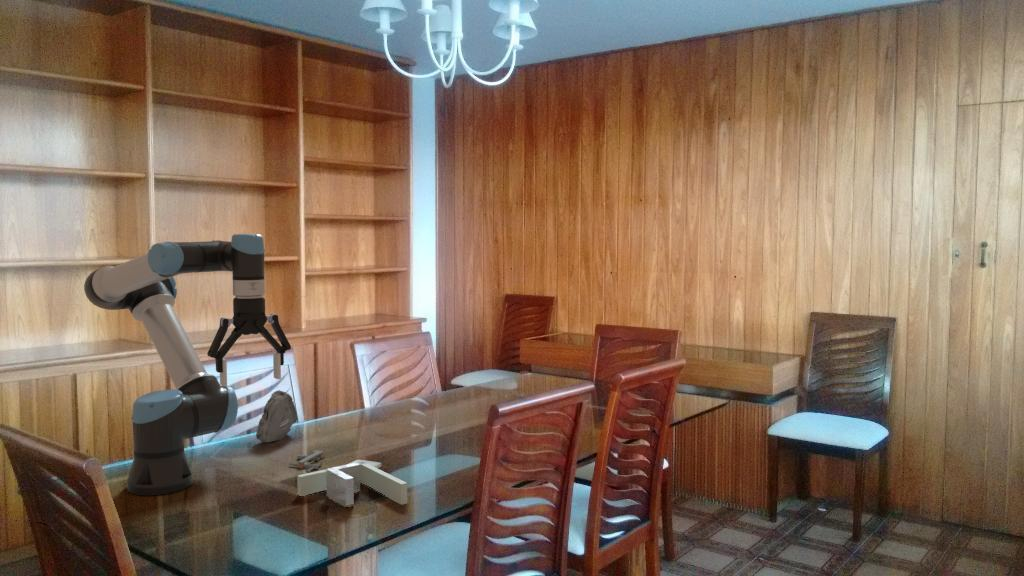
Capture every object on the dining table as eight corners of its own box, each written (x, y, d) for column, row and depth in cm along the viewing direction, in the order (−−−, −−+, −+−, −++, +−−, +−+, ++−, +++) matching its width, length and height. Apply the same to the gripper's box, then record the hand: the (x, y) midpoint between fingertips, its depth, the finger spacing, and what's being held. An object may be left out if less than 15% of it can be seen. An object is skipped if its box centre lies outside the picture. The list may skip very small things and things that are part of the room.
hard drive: (355, 476, 207) (381, 462, 219) (329, 471, 210) (356, 458, 222) (355, 482, 207) (381, 468, 219) (329, 478, 211) (356, 464, 222)
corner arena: (338, 521, 179) (337, 499, 179) (297, 495, 195) (297, 475, 195) (407, 503, 190) (407, 482, 190) (363, 480, 207) (363, 461, 206)
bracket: (326, 496, 195) (326, 468, 194) (356, 490, 200) (355, 462, 199) (346, 508, 187) (345, 479, 186) (376, 501, 192) (376, 472, 191)
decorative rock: (285, 432, 253) (284, 385, 251) (302, 434, 250) (302, 387, 249) (250, 445, 238) (249, 395, 236) (268, 448, 235) (267, 397, 234)
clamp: (306, 448, 229) (337, 451, 226) (306, 456, 229) (337, 459, 226) (275, 464, 214) (308, 467, 211) (275, 472, 215) (308, 475, 212)
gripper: (202, 301, 186) (205, 390, 188) (303, 295, 202) (304, 378, 204) (192, 298, 192) (194, 385, 194) (290, 292, 208) (292, 373, 210)
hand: (251, 381), depth 199 cm, fingers open, 13 cm apart
